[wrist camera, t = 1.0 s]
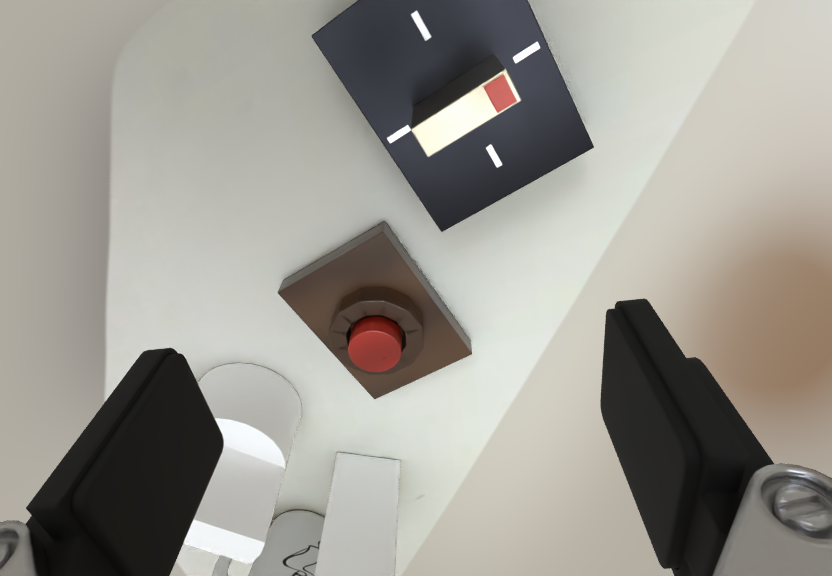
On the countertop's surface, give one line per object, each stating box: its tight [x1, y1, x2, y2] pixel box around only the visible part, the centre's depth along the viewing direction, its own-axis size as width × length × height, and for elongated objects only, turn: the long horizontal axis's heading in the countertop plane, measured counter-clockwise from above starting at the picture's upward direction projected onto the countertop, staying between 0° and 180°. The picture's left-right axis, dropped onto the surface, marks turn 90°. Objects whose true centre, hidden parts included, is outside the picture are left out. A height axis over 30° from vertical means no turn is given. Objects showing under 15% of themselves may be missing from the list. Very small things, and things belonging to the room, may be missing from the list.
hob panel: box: [312, 0, 594, 232], centre depth 29 cm, size 13×10×3 cm
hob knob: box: [411, 55, 521, 157], centre depth 25 cm, size 5×2×5 cm, turn 122°
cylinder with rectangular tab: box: [183, 363, 301, 564], centre depth 39 cm, size 9×9×12 cm
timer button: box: [348, 316, 402, 372], centre depth 35 cm, size 4×4×2 cm
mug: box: [212, 510, 325, 576], centre depth 49 cm, size 11×8×10 cm
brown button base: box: [278, 222, 472, 399], centre depth 37 cm, size 12×9×4 cm
